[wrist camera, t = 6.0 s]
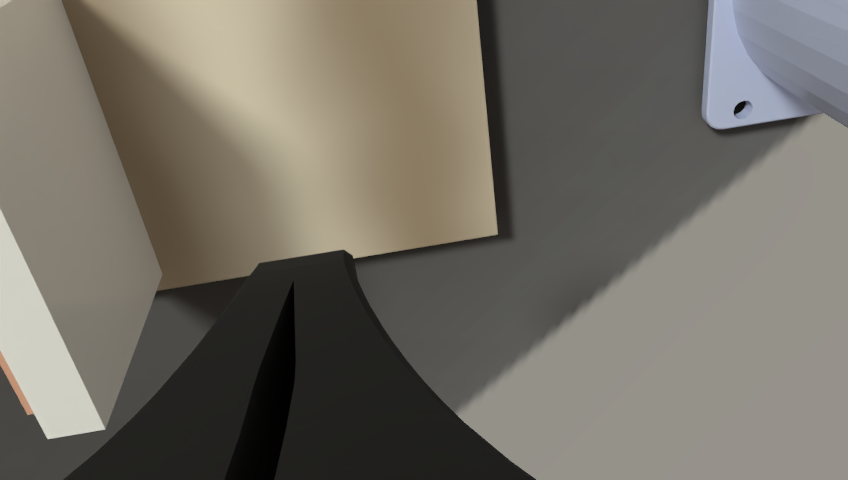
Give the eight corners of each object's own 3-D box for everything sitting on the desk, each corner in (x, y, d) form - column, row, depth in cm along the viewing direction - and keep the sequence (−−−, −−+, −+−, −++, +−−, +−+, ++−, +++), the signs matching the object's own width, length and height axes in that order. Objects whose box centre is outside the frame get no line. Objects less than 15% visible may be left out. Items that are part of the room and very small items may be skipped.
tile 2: (52, -24, 17) (-76, 52, 11) (162, 274, 21) (105, 429, 16) (-20, -13, 17) (-179, 67, 11) (105, 283, 21) (28, 442, 15)
